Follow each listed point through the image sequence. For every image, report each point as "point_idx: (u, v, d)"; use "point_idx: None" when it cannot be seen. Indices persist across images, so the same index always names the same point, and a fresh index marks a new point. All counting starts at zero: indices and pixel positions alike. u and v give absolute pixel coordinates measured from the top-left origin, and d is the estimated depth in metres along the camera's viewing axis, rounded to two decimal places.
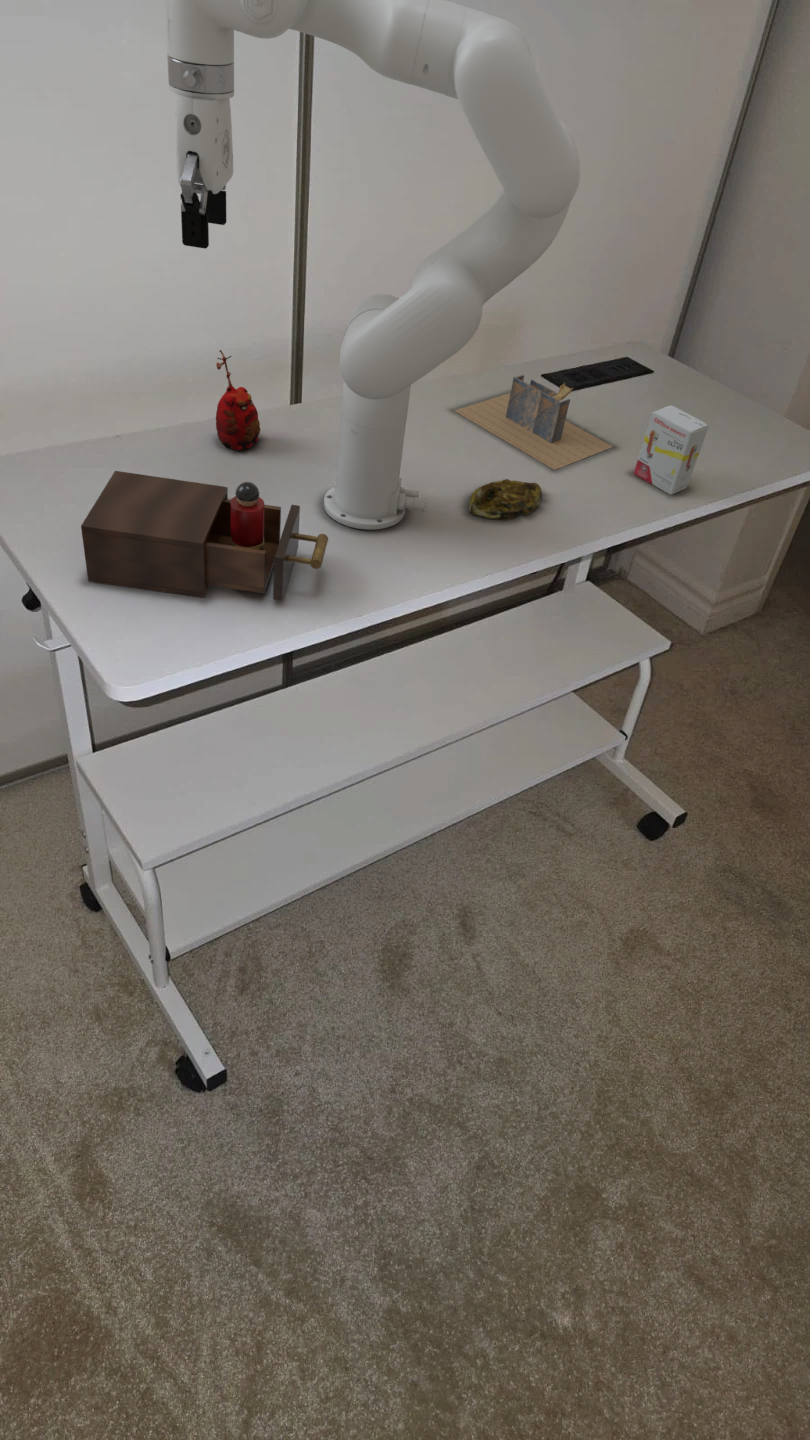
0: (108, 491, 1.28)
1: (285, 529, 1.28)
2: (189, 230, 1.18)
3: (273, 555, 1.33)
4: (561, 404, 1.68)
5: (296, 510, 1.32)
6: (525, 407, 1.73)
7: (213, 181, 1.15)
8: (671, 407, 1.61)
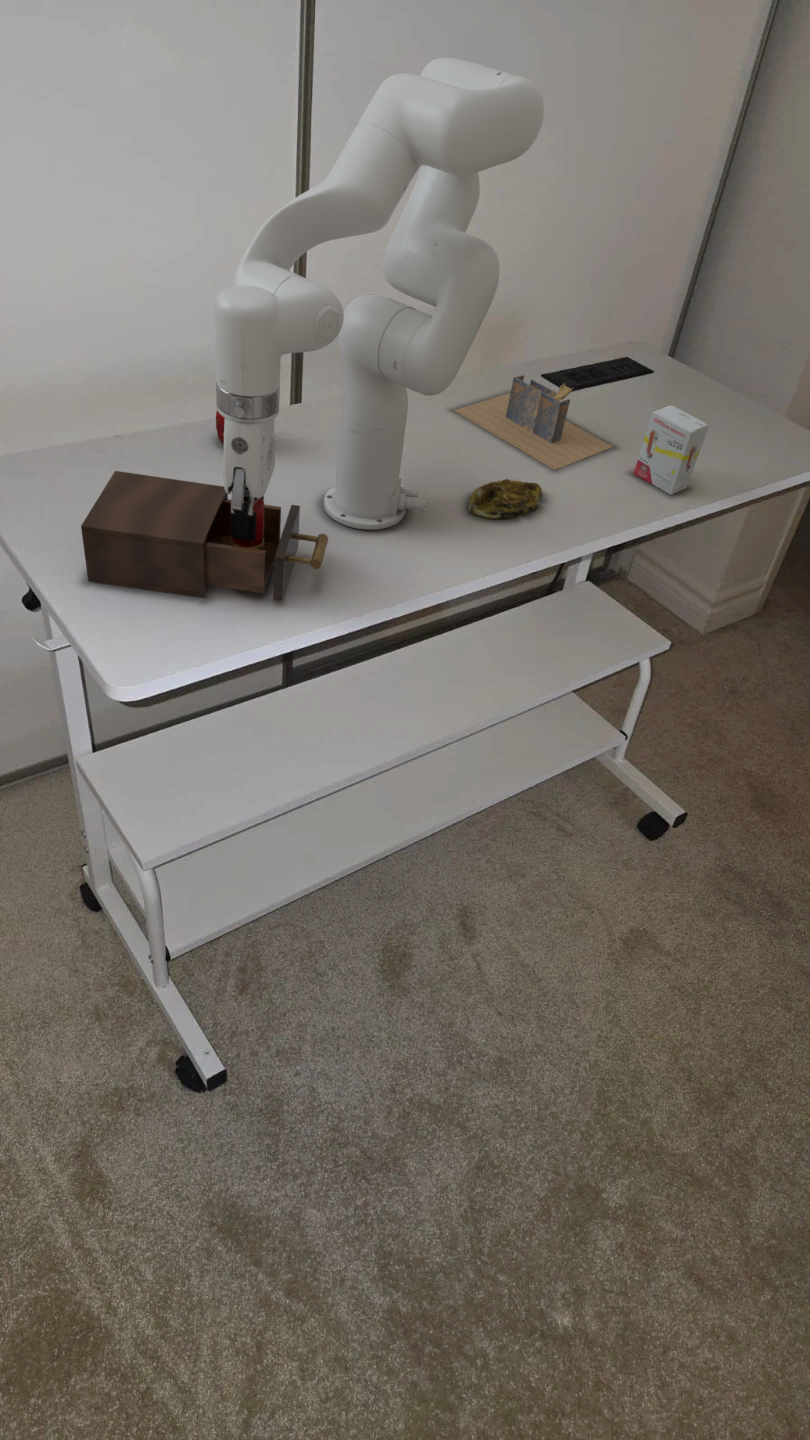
0: (108, 491, 1.28)
1: (285, 529, 1.28)
2: (238, 528, 1.24)
3: (273, 555, 1.33)
4: (561, 404, 1.68)
5: (296, 510, 1.32)
6: (525, 407, 1.73)
7: (258, 490, 1.19)
8: (671, 407, 1.61)
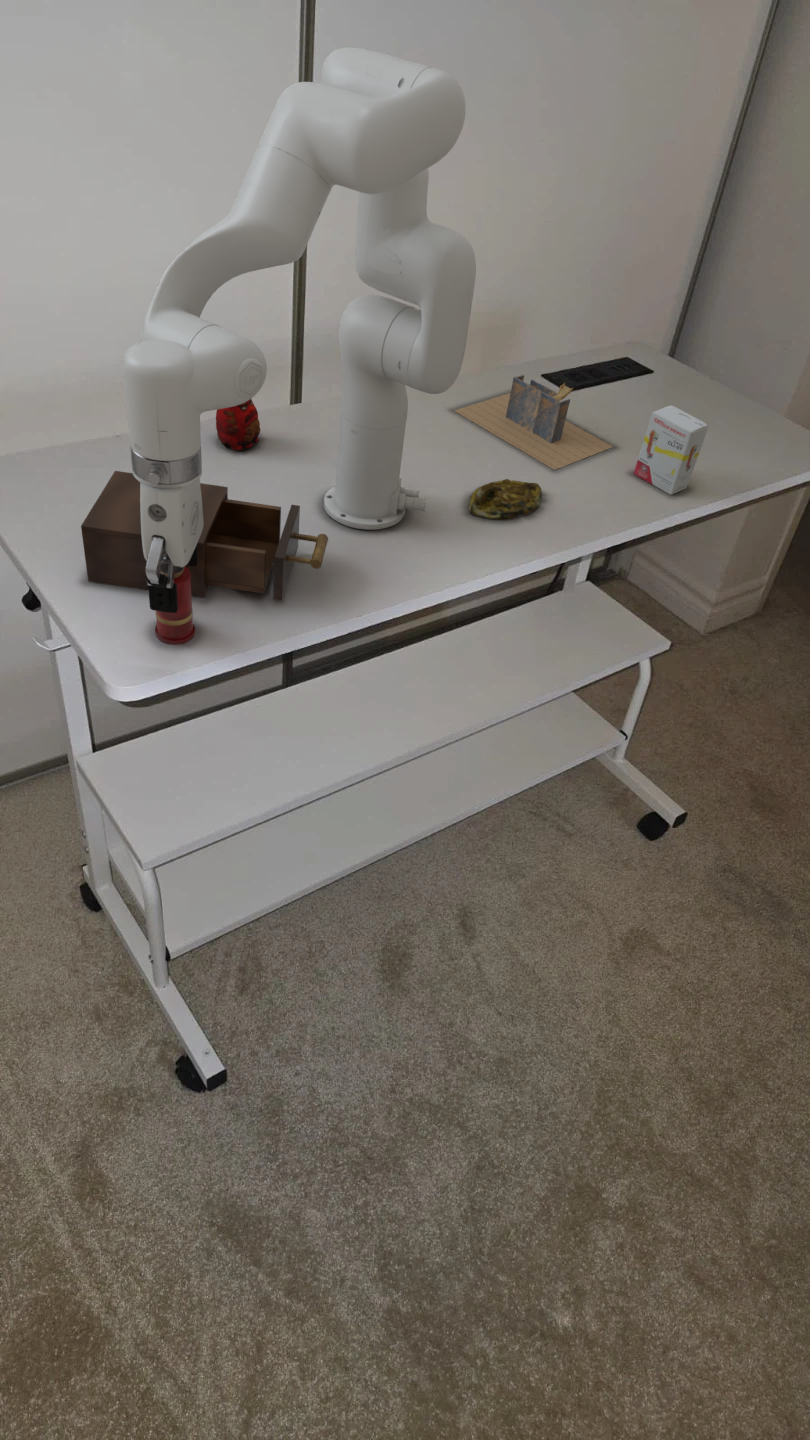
0: (108, 491, 1.28)
1: (285, 529, 1.28)
2: (157, 600, 1.12)
3: (273, 555, 1.33)
4: (561, 404, 1.68)
5: (296, 510, 1.32)
6: (525, 407, 1.73)
7: (181, 559, 1.09)
8: (671, 407, 1.61)
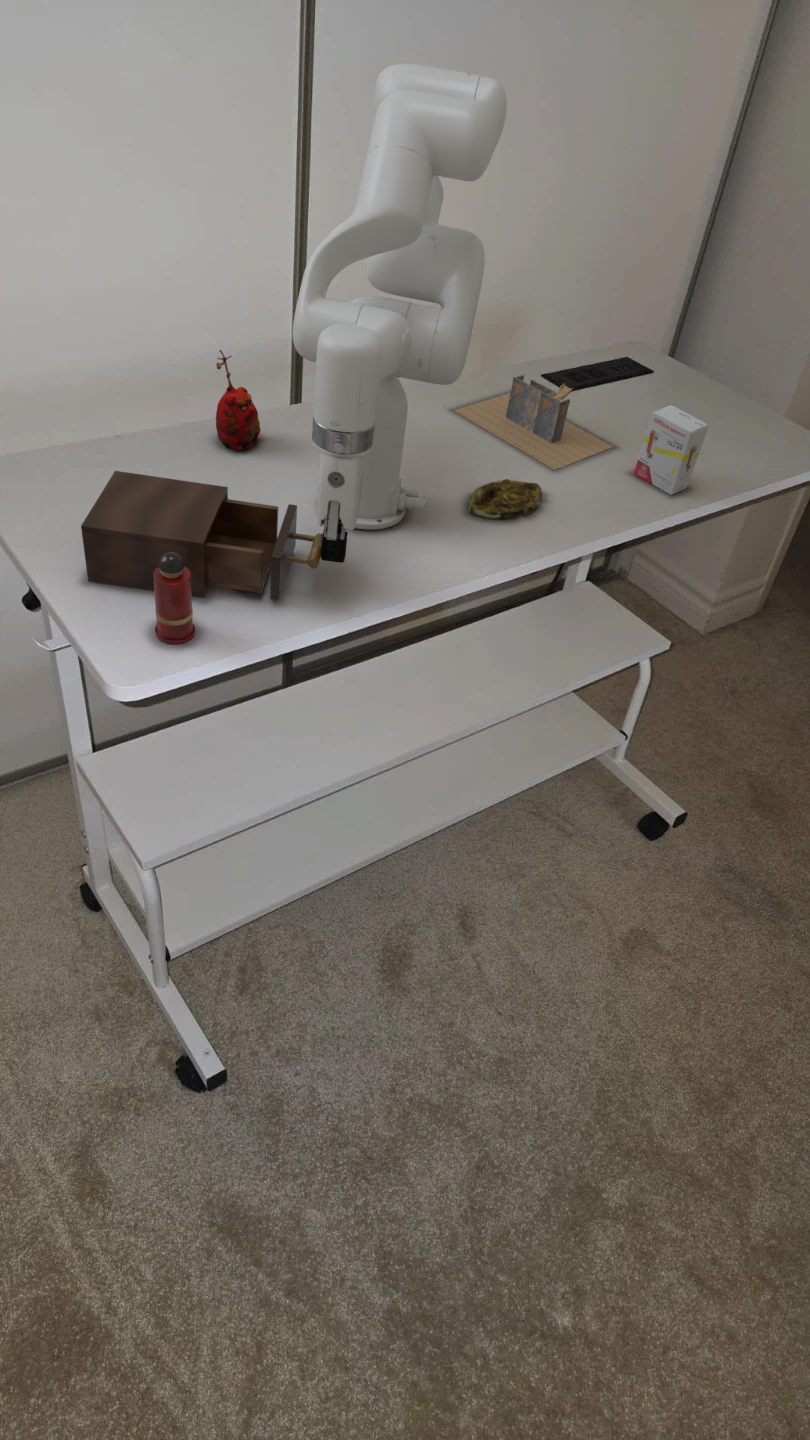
0: (108, 491, 1.28)
1: (282, 529, 1.28)
2: (329, 550, 1.28)
3: (270, 555, 1.33)
4: (561, 404, 1.68)
5: (293, 509, 1.32)
6: (525, 407, 1.73)
7: (351, 522, 1.21)
8: (671, 407, 1.61)
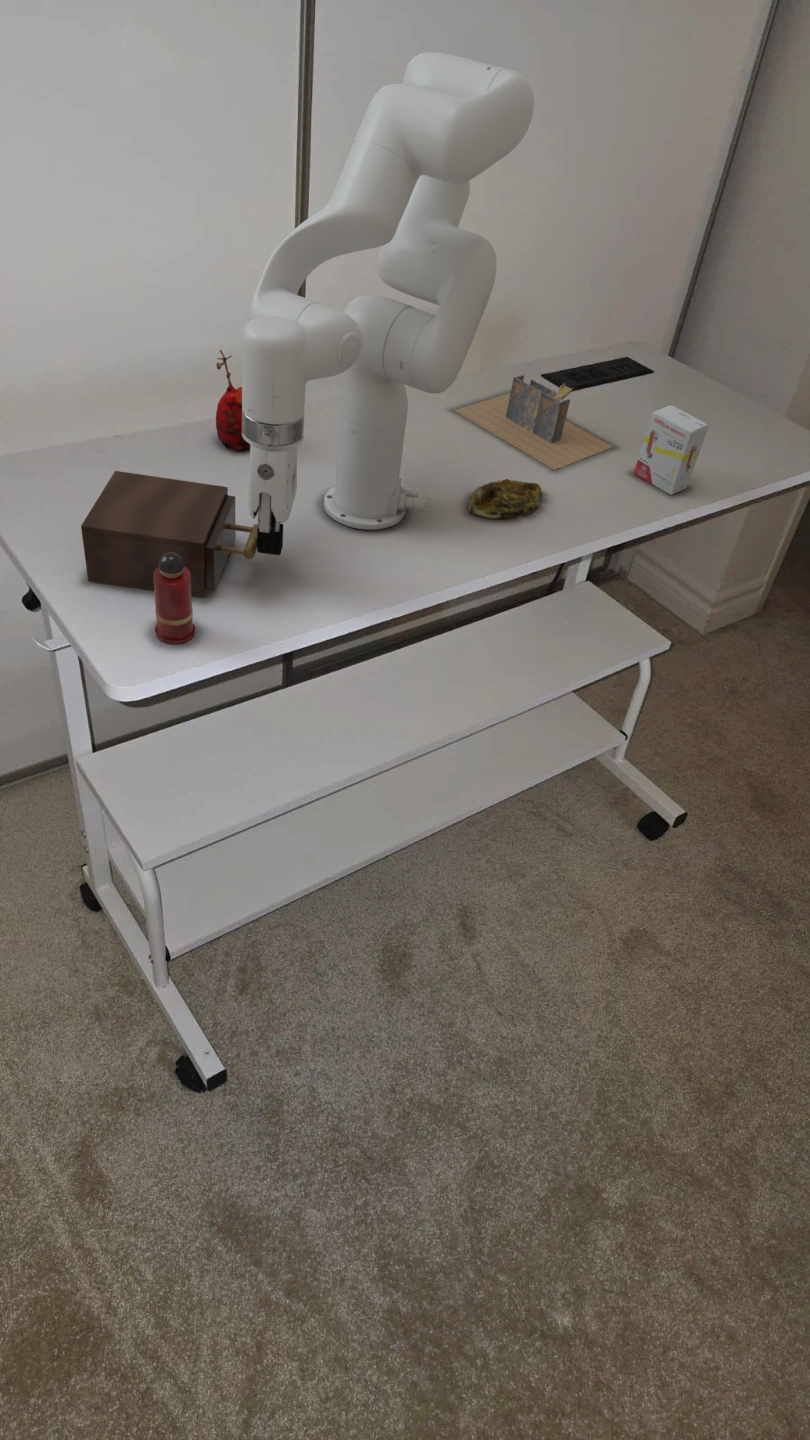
0: (108, 491, 1.28)
1: (218, 519, 1.28)
2: (265, 543, 1.28)
3: None
4: (561, 404, 1.68)
5: (231, 500, 1.32)
6: (525, 407, 1.73)
7: (283, 515, 1.21)
8: (671, 407, 1.61)
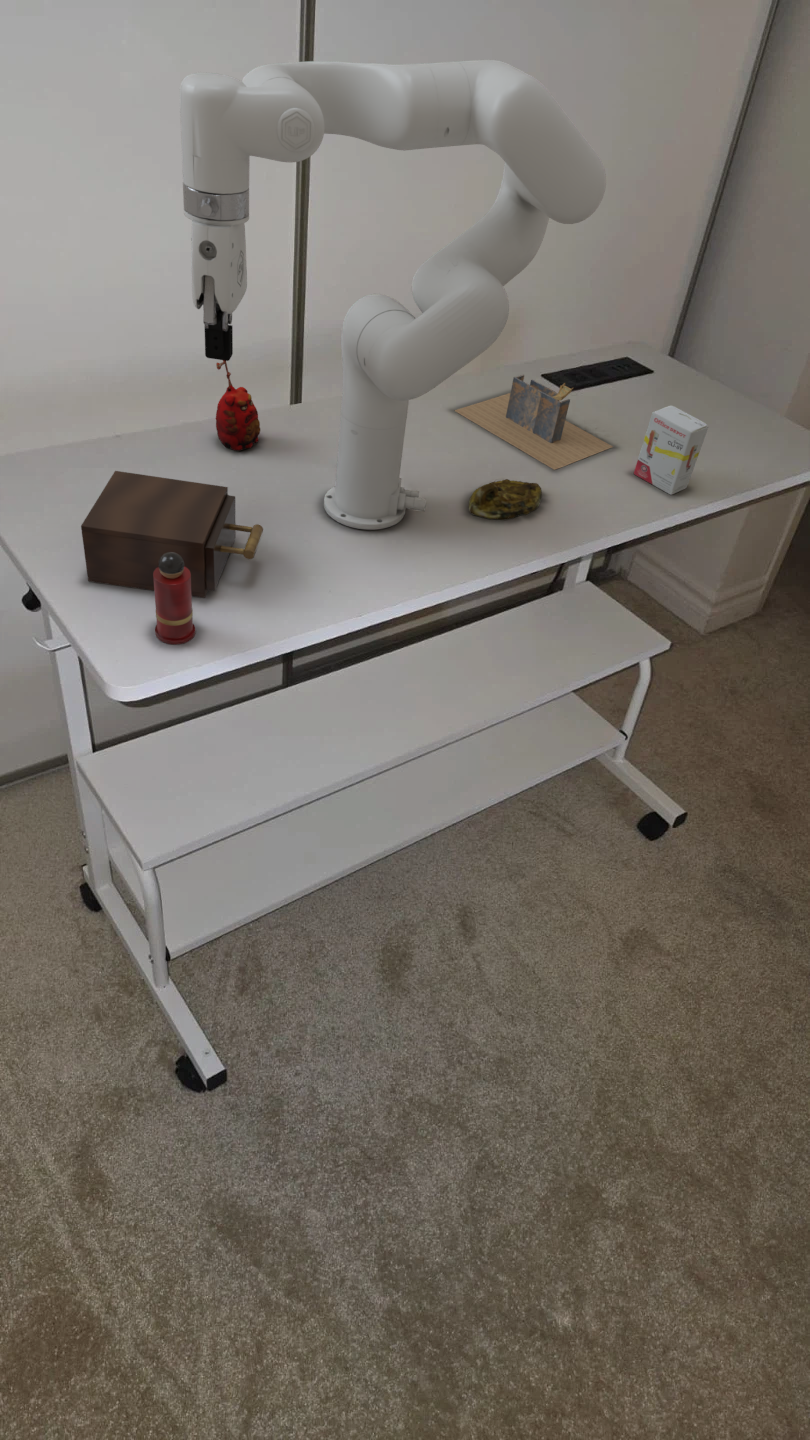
0: (108, 491, 1.28)
1: (218, 519, 1.28)
2: (212, 344, 1.22)
3: None
4: (561, 404, 1.68)
5: (231, 500, 1.32)
6: (525, 407, 1.73)
7: (228, 303, 1.15)
8: (671, 407, 1.61)
